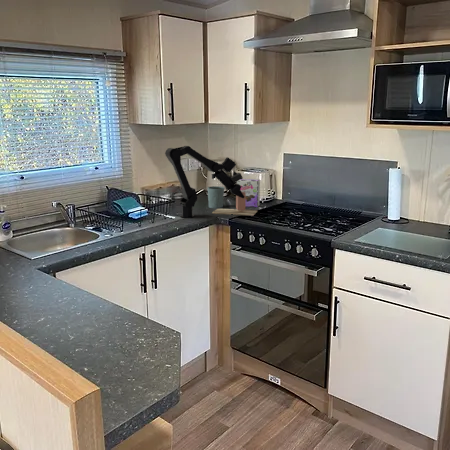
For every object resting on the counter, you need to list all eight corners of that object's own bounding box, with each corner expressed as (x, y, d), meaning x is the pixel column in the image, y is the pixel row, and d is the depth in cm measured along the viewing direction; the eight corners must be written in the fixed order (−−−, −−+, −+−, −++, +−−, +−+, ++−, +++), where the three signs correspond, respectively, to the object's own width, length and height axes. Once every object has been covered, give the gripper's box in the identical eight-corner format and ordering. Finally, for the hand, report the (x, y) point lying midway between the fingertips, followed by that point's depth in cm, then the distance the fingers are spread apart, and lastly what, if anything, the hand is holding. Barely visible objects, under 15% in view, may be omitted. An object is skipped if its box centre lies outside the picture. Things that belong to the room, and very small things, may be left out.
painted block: (245, 209, 273) (245, 192, 271) (237, 210, 272) (237, 192, 270) (243, 208, 277) (243, 191, 275) (236, 208, 277) (236, 191, 274)
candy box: (235, 206, 292) (235, 179, 288) (238, 204, 298) (238, 178, 294) (257, 207, 288) (257, 180, 285) (259, 205, 294) (260, 179, 290)
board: (253, 215, 265) (253, 214, 265) (212, 213, 271) (212, 212, 271) (257, 211, 277) (257, 210, 277) (217, 209, 283) (217, 208, 283)
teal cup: (207, 205, 295) (207, 186, 292) (224, 205, 295) (223, 186, 292) (207, 208, 285) (207, 189, 282) (224, 208, 285) (224, 188, 283)
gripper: (237, 170, 260) (257, 189, 264) (230, 166, 277) (248, 184, 282) (223, 184, 260) (243, 203, 265) (217, 180, 278) (235, 198, 282)
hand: (243, 197), depth 273 cm, fingers closed on painted block, 4 cm apart
